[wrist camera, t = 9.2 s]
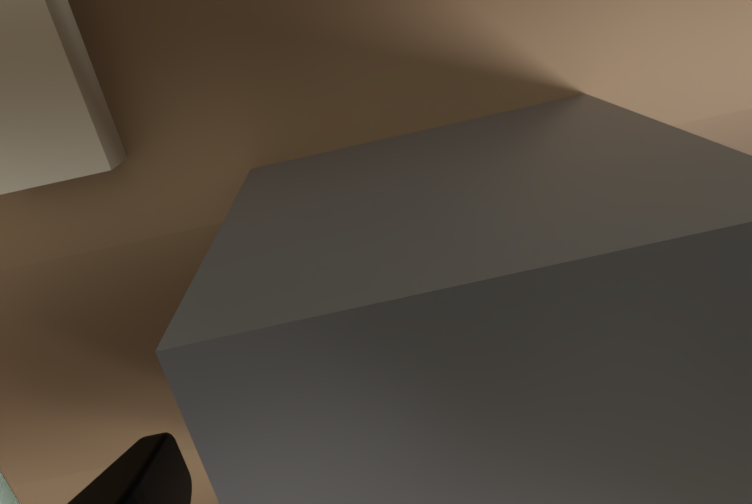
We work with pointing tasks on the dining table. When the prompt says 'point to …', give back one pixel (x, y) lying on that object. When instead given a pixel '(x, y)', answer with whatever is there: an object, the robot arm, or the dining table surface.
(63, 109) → the brown wooden flat slab
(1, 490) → the dining table surface
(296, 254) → the grey rectangular block
